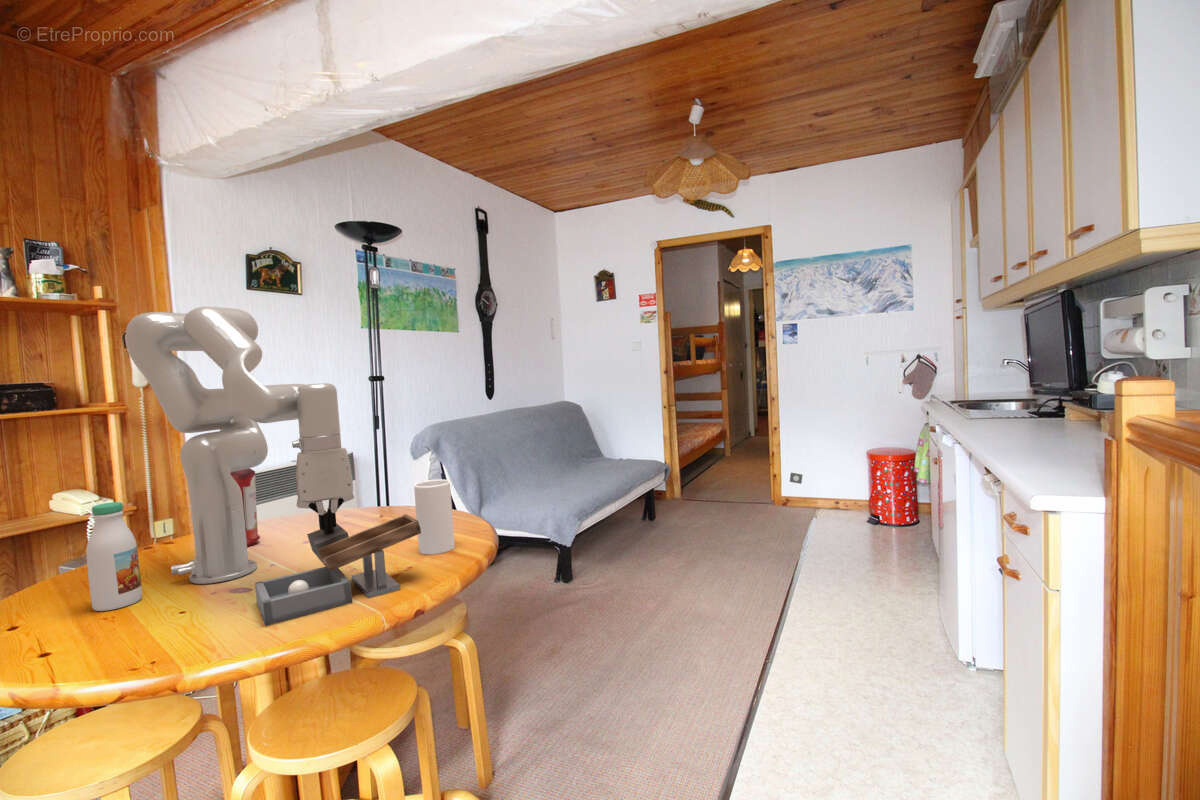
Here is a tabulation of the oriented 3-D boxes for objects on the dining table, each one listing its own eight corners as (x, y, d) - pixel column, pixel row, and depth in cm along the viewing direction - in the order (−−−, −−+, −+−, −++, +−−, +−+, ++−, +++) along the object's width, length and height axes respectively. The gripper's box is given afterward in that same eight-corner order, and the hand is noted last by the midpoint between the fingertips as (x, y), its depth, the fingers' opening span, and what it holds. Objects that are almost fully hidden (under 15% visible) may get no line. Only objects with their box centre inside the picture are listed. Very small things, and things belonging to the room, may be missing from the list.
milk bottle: (101, 615, 110) (89, 510, 109) (85, 608, 114) (74, 507, 113) (149, 600, 116) (139, 501, 115) (133, 593, 120) (123, 498, 119)
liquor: (235, 542, 155) (225, 438, 154) (265, 539, 157) (255, 435, 155) (224, 550, 148) (213, 441, 147) (256, 547, 150) (246, 438, 148)
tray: (265, 625, 101) (263, 603, 100) (257, 603, 111) (255, 582, 111) (352, 602, 109) (350, 581, 109) (336, 583, 120) (335, 564, 119)
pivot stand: (368, 598, 111) (364, 556, 110) (351, 580, 121) (348, 542, 121) (400, 589, 114) (397, 549, 114) (381, 572, 125) (378, 535, 124)
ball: (290, 604, 107) (288, 586, 107) (287, 598, 110) (285, 581, 110) (311, 598, 109) (309, 580, 109) (308, 593, 112) (305, 575, 112)
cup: (449, 553, 135) (444, 485, 134) (414, 555, 136) (408, 487, 135) (458, 542, 144) (453, 478, 143) (425, 544, 144) (420, 480, 143)
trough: (395, 517, 134) (391, 502, 133) (421, 533, 119) (416, 516, 119) (312, 550, 124) (307, 534, 123) (330, 572, 109) (324, 553, 108)
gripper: (282, 450, 112) (290, 543, 113) (363, 440, 121) (370, 528, 122) (277, 447, 118) (285, 535, 119) (355, 438, 127) (361, 521, 128)
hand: (328, 531), depth 121 cm, fingers closed
